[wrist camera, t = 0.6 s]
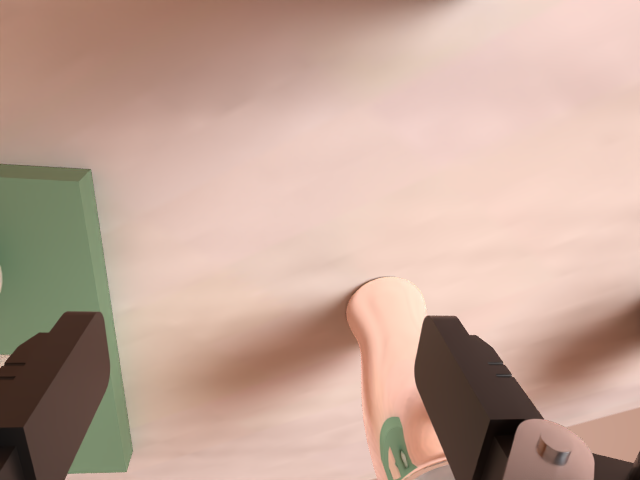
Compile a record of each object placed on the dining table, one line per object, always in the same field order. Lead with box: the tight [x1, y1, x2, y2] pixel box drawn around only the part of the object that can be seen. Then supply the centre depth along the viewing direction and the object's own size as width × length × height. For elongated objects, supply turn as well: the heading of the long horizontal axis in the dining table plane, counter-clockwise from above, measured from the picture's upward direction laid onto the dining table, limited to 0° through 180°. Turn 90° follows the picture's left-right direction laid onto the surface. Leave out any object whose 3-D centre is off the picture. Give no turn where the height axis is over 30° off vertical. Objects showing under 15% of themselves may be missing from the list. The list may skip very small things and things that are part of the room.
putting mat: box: [0, 164, 133, 474], centre depth 32 cm, size 26×14×2 cm, turn 175°
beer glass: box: [346, 277, 455, 480], centre depth 28 cm, size 7×7×15 cm
